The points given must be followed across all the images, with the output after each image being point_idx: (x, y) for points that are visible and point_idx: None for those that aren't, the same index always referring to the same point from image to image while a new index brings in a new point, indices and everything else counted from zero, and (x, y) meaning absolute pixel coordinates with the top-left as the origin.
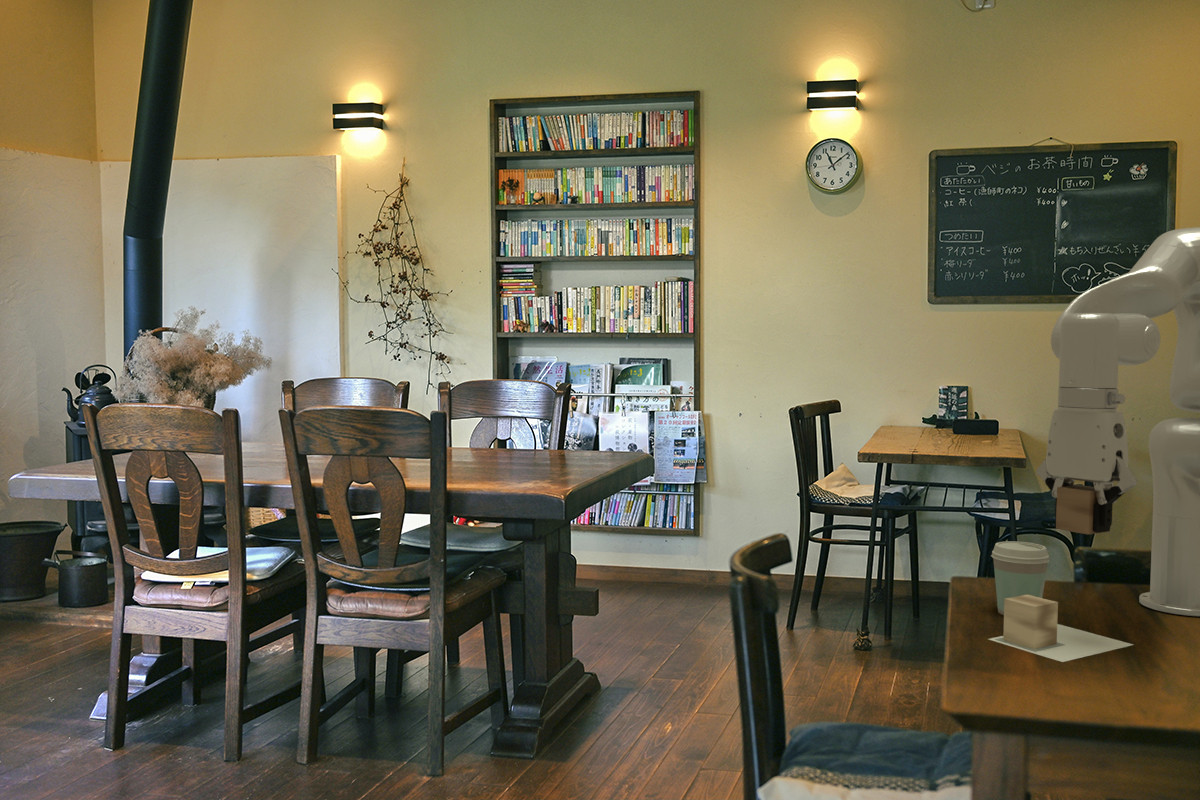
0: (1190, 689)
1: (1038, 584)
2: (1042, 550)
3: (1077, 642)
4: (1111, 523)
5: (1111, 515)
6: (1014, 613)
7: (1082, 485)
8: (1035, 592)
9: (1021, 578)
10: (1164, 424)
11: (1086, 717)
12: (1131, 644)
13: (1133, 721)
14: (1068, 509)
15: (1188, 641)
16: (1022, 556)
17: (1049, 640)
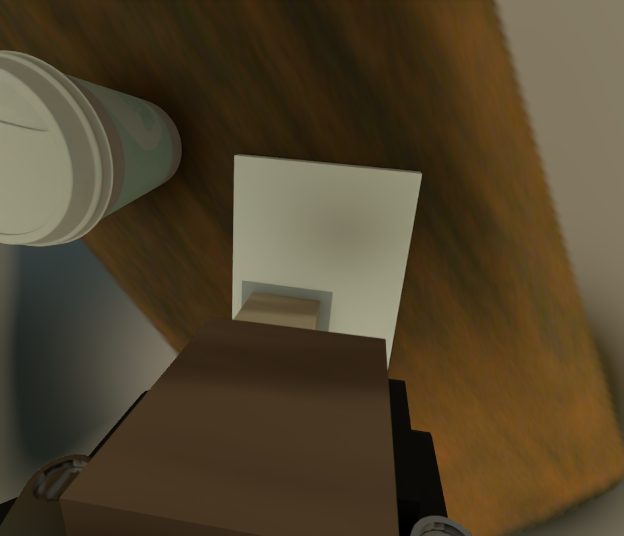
0: (584, 309)
1: (140, 162)
2: (72, 160)
3: (337, 257)
4: (430, 436)
5: (437, 475)
6: None
7: (99, 508)
8: (149, 168)
9: (113, 210)
10: None
11: (502, 520)
12: (417, 177)
13: (557, 496)
14: None
15: None
16: (71, 229)
17: (317, 325)
